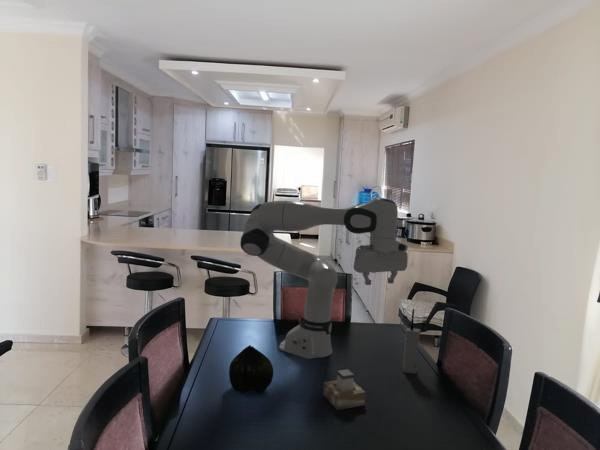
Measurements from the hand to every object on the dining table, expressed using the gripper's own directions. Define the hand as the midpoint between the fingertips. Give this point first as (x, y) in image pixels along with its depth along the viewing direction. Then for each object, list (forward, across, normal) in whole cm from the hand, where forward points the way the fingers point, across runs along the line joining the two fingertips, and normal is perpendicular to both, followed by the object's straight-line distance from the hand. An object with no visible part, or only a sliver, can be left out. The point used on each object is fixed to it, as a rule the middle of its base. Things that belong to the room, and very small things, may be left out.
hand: (379, 283), depth 149 cm
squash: (+37, -42, +11) cm, 57 cm away
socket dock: (+37, -15, -6) cm, 40 cm away
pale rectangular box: (+36, -15, -6) cm, 40 cm away
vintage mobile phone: (+37, +21, +5) cm, 43 cm away
